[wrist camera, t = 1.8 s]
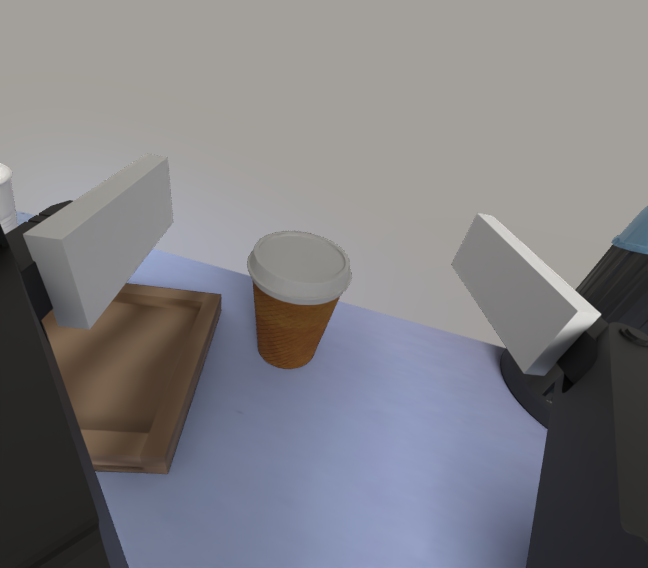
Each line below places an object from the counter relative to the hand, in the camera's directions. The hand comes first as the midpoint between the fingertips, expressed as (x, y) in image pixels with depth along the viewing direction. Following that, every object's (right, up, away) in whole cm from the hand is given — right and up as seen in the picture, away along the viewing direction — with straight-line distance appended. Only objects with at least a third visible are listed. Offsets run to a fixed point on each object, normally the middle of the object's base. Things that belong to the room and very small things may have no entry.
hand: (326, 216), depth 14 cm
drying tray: (-21, -10, +15) cm, 28 cm away
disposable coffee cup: (-4, -10, +22) cm, 24 cm away
